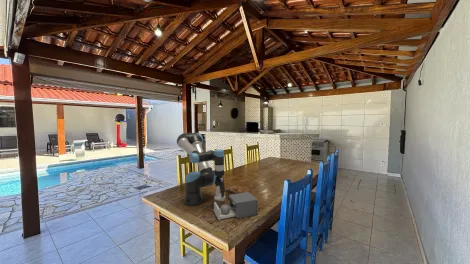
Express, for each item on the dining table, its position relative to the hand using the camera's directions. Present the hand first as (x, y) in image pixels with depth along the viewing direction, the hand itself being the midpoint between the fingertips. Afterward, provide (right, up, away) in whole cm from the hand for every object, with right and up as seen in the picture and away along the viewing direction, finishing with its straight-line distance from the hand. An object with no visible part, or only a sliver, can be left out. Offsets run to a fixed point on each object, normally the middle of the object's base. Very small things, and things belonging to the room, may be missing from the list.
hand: (220, 197), depth 145 cm
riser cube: (0, -7, +1) cm, 7 cm away
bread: (+14, -6, +14) cm, 21 cm away
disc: (0, -1, 0) cm, 1 cm away
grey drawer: (+6, -7, -12) cm, 16 cm away
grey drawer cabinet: (+17, -7, -8) cm, 20 cm away
